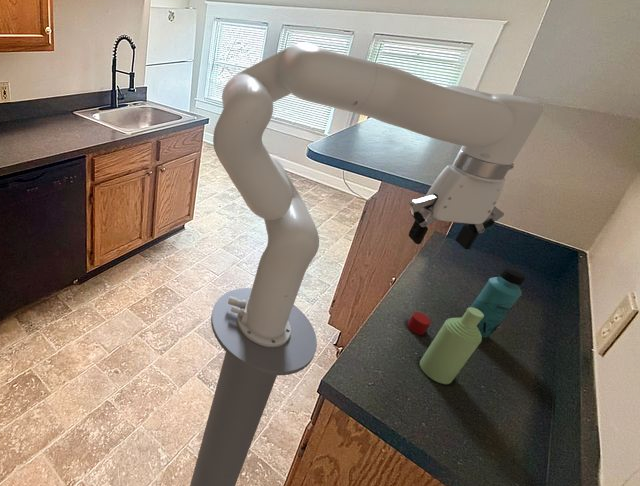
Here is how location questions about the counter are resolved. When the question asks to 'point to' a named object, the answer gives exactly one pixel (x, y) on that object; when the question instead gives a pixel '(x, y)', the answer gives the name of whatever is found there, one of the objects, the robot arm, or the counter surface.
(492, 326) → the beverage bottle
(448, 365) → the sauce bottle
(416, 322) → the cap
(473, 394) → the counter surface
